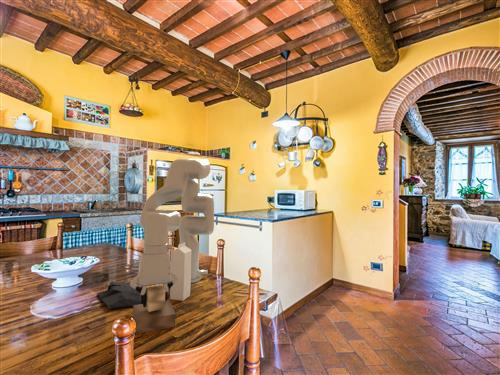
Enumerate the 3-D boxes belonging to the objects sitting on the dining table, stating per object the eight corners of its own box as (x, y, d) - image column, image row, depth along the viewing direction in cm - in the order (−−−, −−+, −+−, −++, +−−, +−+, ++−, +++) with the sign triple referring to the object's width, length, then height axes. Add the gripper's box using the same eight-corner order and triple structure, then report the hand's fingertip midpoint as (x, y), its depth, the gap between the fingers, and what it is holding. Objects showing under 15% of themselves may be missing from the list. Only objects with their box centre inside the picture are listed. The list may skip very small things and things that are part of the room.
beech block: (160, 302, 88) (160, 285, 88) (164, 308, 84) (165, 289, 84) (144, 306, 85) (145, 287, 85) (148, 311, 81) (149, 292, 81)
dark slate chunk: (100, 315, 90) (101, 301, 90) (97, 294, 108) (97, 282, 108) (147, 305, 98) (147, 293, 98) (136, 287, 117) (136, 277, 117)
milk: (169, 299, 104) (171, 244, 104) (177, 293, 109) (178, 241, 110) (183, 301, 102) (184, 245, 103) (190, 295, 108) (191, 242, 109)
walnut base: (169, 310, 93) (169, 299, 93) (175, 326, 82) (175, 313, 83) (133, 317, 88) (133, 305, 88) (134, 334, 77) (134, 320, 77)
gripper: (179, 245, 93) (178, 296, 93) (127, 248, 86) (125, 304, 85) (184, 249, 86) (182, 304, 86) (127, 253, 79) (125, 313, 78)
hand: (154, 303), depth 85 cm, fingers closed on beech block, 5 cm apart
